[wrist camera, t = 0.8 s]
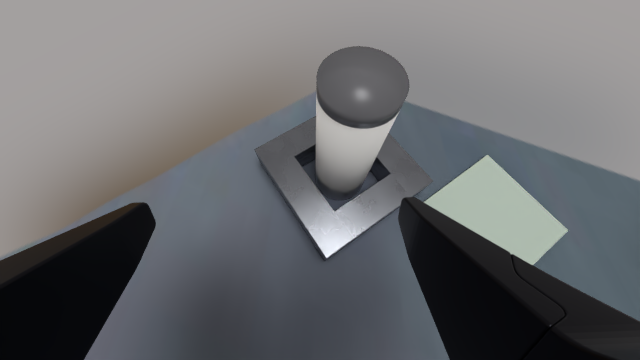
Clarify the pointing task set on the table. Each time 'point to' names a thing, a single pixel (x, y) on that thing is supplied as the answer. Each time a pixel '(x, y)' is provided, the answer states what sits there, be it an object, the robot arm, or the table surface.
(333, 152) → the plug
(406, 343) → the table surface
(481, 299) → the robot arm
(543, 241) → the mat
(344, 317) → the table surface
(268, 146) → the frame
